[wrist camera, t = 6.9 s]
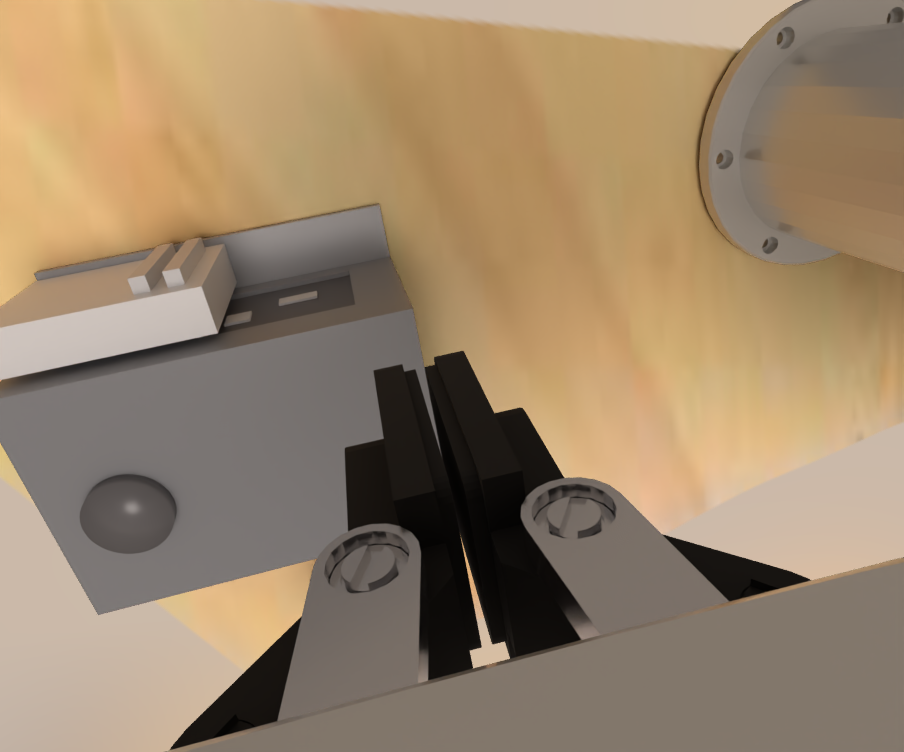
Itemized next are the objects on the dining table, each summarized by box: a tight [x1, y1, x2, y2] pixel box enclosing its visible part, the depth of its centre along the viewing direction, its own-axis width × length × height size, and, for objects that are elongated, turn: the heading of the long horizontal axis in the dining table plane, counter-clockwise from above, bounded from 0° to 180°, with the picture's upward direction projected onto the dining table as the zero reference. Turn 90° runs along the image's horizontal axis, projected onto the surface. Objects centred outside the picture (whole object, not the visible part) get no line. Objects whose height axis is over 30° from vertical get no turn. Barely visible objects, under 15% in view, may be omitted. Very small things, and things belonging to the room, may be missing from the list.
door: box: [0, 237, 237, 380], centre depth 25 cm, size 8×2×6 cm, turn 99°
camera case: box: [0, 204, 441, 615], centre depth 27 cm, size 15×12×9 cm
